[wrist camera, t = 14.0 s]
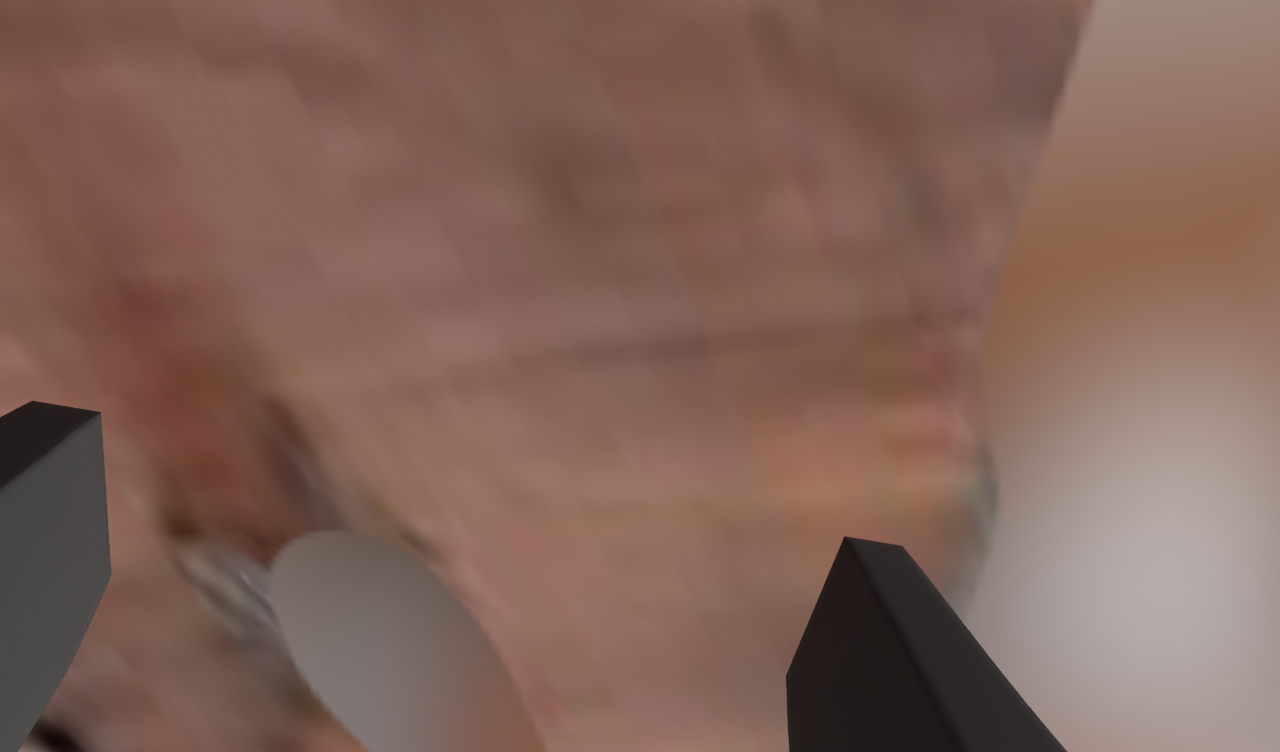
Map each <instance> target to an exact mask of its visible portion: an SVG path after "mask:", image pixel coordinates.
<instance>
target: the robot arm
mask: <svg viewBox="0 0 1280 752" xmlns="http://www.w3.org/2000/svg"><path fill="white" fill-rule="evenodd" d="M110 577H111V562H110V546H109V531H108V515H107V500H106V484H105V469H104V453H103V437H102V422H101V412H96V411H90V410H84V409H78V408H72V407H66V406H60V405H54V404H48V403H42V402H36V401H31V402H29V403H27V404H25V405H23V406H21V407H19V408H17V409H15V410H13V411H12V412H10V413H8V414H6V415H4V416H2V417H0V752H18V751H19V749H20V747H21V746H22V744H23V743H24V741H25V739H26V738H27V736H28V734H29V733H30V731H31V730H32V728H33V726H34V725H35V723H36V722H37V720H38V718H39V717H40V715H41V713H42V712H43V710H44V709H45V707H46V705H47V704H48V702H49V701H50V699H51V697H52V696H53V694H54V692H55V691H56V689H57V687H58V686H59V684H60V682H61V681H62V679H63V677H64V676H65V674H66V673H67V671H68V669H69V667H70V665H71V662H72V660H73V658H74V656H75V654H76V652H77V650H78V648H79V646H80V643H81V641H82V639H83V637H84V635H85V633H86V631H87V629H88V627H89V624H90V622H91V620H92V618H93V615H94V613H95V611H96V609H97V606H98V604H99V602H100V599H101V597H102V595H103V593H104V590H105V588H106V586H107V584H108V581H109V579H110ZM786 687H787V714H788V735H789V751H790V752H1067V751H1066V750H1065V749H1064V747H1063V746H1062V745H1061V744H1060V743H1059V742H1058V741H1057V739H1056V738H1055V737H1054V736H1053V735H1052V733H1051V732H1050V731H1049V730H1048V729H1047V728H1046V726H1045V725H1044V724H1043V723H1042V722H1041V720H1040V719H1039V718H1038V717H1037V715H1036V714H1035V713H1034V712H1033V711H1032V709H1031V708H1030V707H1029V706H1028V705H1027V704H1026V702H1025V701H1024V700H1023V698H1022V697H1021V696H1020V695H1019V693H1018V692H1017V691H1016V690H1015V689H1014V687H1013V686H1012V685H1011V683H1010V682H1009V681H1008V680H1007V679H1006V677H1005V676H1004V675H1003V674H1002V672H1001V671H1000V670H999V668H998V667H997V666H996V665H995V663H994V662H993V661H992V660H991V658H990V657H989V656H988V655H987V653H986V652H985V651H984V649H983V648H982V647H981V646H980V644H979V643H978V642H977V640H976V639H975V638H974V637H973V636H972V634H971V633H970V631H969V630H968V629H967V628H966V626H965V625H964V624H963V622H962V621H961V620H960V619H959V617H958V616H957V615H956V613H955V612H954V611H953V609H952V608H951V607H950V606H949V604H948V603H947V602H946V600H945V599H944V598H943V596H942V595H941V594H940V593H939V591H938V590H937V589H936V587H935V586H934V585H933V584H932V582H931V581H930V580H929V578H928V577H927V576H926V575H925V573H924V572H923V571H922V570H921V568H920V567H919V566H918V565H917V563H916V562H915V561H914V560H913V558H912V557H911V556H910V555H909V554H908V552H907V551H906V550H905V549H904V548H903V546H899V545H893V544H887V543H881V542H875V541H869V540H863V539H857V538H851V537H845V536H844V539H843V541H842V544H841V546H840V548H839V551H838V553H837V555H836V558H835V560H834V563H833V565H832V567H831V570H830V572H829V575H828V577H827V579H826V582H825V584H824V586H823V589H822V591H821V594H820V596H819V598H818V601H817V603H816V606H815V608H814V610H813V613H812V615H811V618H810V620H809V622H808V625H807V627H806V629H805V632H804V634H803V637H802V639H801V641H800V644H799V646H798V649H797V651H796V653H795V656H794V658H793V660H792V663H791V665H790V668H789V670H788V672H787V675H786Z"/></svg>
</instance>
